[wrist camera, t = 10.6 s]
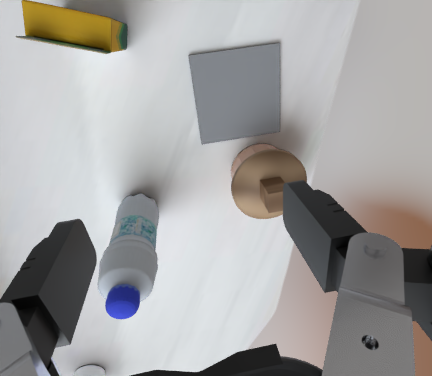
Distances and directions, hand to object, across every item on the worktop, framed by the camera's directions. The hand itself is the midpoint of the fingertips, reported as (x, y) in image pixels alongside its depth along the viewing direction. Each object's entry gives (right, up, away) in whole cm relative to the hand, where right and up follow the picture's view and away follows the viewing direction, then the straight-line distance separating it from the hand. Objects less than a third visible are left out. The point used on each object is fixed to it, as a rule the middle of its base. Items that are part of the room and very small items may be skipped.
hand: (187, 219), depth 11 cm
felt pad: (+4, +14, +28) cm, 31 cm away
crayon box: (-13, +20, +22) cm, 32 cm away
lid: (+9, +2, +29) cm, 31 cm away
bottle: (-11, -2, +34) cm, 36 cm away
